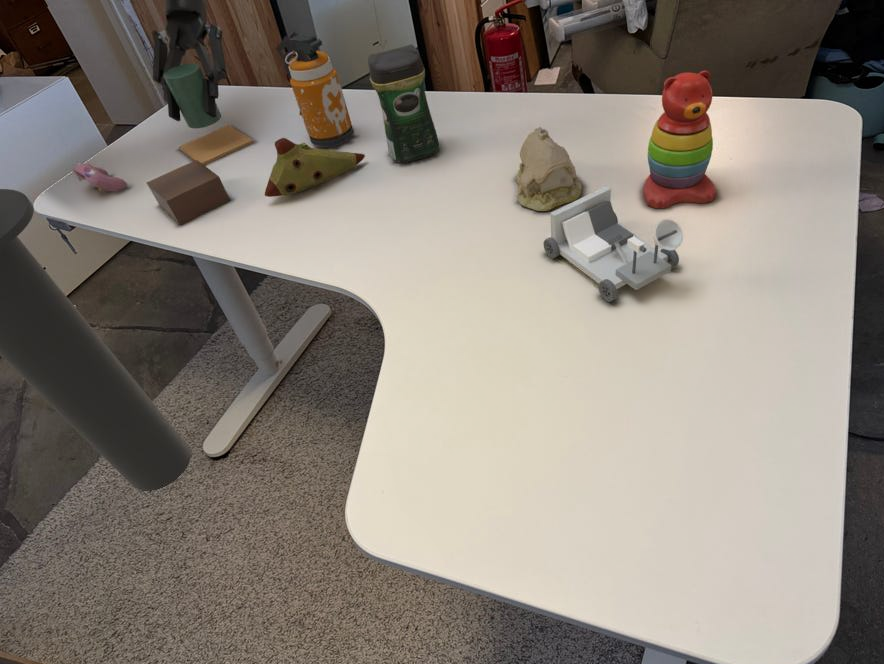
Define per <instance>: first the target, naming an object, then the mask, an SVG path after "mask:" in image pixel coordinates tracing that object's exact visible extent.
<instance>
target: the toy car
mask: <svg viewBox="0 0 884 664" xmlns="http://www.w3.org/2000/svg"><path fill="white" fill-rule="evenodd" d="M611 195H612V189H611V187H609V186H607V185H606V186H603V187H601V188H600V189H597V190H594V191H593V192H591V193H589V194H586V195H585V196H582V197H580V198H577V199H576V200H574V201H571V202H569V203H567V204H566V205H564V206H562V207H559V208H558V209H556V210H554V211H552V212H550V213H549V217H550V218H549V219H550V237H547V238H545V239H544V240H543V249H544V251H545V254H546V255H547V256H548V257H549V258H550V259H556V258H558V257H559V256H562V257H563V258H564V259H565V260H567V261H568V262H569V263H571V264H572V265H573V266H574V267H576V268H578V269H579V270H580V271H581V272H582V273H584V274H585V275H586V276H588V277H589V278H590V279H592V280H593V281H594V282H596V283H597V284H598V291H599V294H600V296H601V298H602V299H604V300H605V301H606V302H608V303H611V302H613V301H615V300H616V299H618V289H621V288H622V287H623V286H626V285H628V286H629V287H630V288H632V289H634V290H635V291H638V290H639V289H641V288H643V287H645V286H647V285H648V284H650V283H652V282H654V281H656V280H658V279H659V278H661V277H663V276H665V275H666V274H668V273H670V272H671V271H672V269H674V268H675V267H677V266H678V265H679V263H680V256H679V254H678V252H677V249H678V248H679V247H680V246H681V245H682V243H683V241H684V233H683V230H682V228H681V226H680V224H679V223H678V222H677V221H675V220H674V219H671V218H664V219H661V220H660V221H659V222H658V223H657V224H656V226H655V228H654V231H653V233H652V234H653V235H652V240H653V243H654V246H653V245H652V244H650V243H649V242H647V241H645V240H644V239H642V238H641V237H640V236H638V235H636V234H635V233H633V232H632V231H630V230H628V229H627V228H625V227H624V226H622V225H620V224H619V219H618V216H617V214H616V212H615V211H614V208H613V204H612V201H611V199H612V197H611ZM659 248H661V249H660V250H659Z"/></svg>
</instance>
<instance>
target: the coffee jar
mask: <svg viewBox="0 0 884 664" xmlns="http://www.w3.org/2000/svg"><path fill="white" fill-rule="evenodd" d="M367 61H368V62H367V63H368V70H369V80H370V83H371V85H372V87H373V89H374V90H375V92H376V95H377V97H378V101H379V105H380V109H381V113H382V119H383V124H384V132H385V133H384V134H385V139H386V144H387V150H388V153H389V156H390V158H391V159H392V160H394V161H395V162H397V163H402V164H403V163H410V162H414V161H417V160H420V159H423V158H426V157H430V156H433V155H434V154H436V153H437V151H438V150H439V149H440V142H439V137H438V134H437V133H438V132H437V130H436V127H435V123H434V119H433V117H432V114H431V110H430V107H429V103H428V100H427V95H426V89H425V79H426V70H425V67H424V64H423V61H422V58H421V54H420V52H419V50H418V48H416V47H415V45H413V44H408V45H405V46H400V47H397V48H392V49H388V50H385V51H381V52H377V53H372V54H370V55H368V57H367Z"/></svg>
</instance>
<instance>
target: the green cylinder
mask: <svg viewBox="0 0 884 664" xmlns="http://www.w3.org/2000/svg"><path fill="white" fill-rule="evenodd" d="M163 77H164V79H165V81H166V83H167V85H168V87H169V89H170V91H171V93H172V95H173V97H174V99H175V101H176V103H177V105H178V107H179V109H180V114H181V115H182V117H183V119H184V121H185V123H186V126H187V127H188V128H190V129H196V130H197V129H203V128H208V127H210V126H212V125H215V124H216V123H218V122H219V121H220V120H221V118H222V113H221V111H220V109H219V106H218V104H217V102H216V101H215V103H216V117H211V116H210V115H208V114H207V113H205V103H204V88H203V79H206V76H205V74H204V73H203V71H202V69H201V67H200V65H199V64H198V63H184V64H180V66H177V67H174V68H172V69H170V70H168V71H167V72H165V73H164V75H163Z"/></svg>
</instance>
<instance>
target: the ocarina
mask: <svg viewBox="0 0 884 664" xmlns="http://www.w3.org/2000/svg"><path fill="white" fill-rule="evenodd" d="M274 147H275V150H276V155H277V156H276V161H275V163H274V164H273V166H272V169H271V172H270V174H269V178H268V181H267V184H266V187H265V191H264V196H265V197H269V198H274V197H275V198H276V197H282V196H288V195H293V194H296V193H300V192H302V191H305V190H308V189H311V188H313V187H317V186H318V185H320V184H322V183H325V182H327V181H329V180H331V179H334V178H336V177H338V176H340V175H342V174H344V173H345V172H347V171H349V170H351V169H353V168H354V167H356V166H357V165H358V164H360V163H361V162H362V161H363V160H364V159H365V157H366V155H365V154H364V153H359V152H350V151H342V150H341V151H340V150H333V149H324V148H316V147H311V146H310V145H309V144H307V143H306V142H301V143H295V142H293V141H291V140H290V139H288V138H286V137H281V138H279V139H277V140H276V141H275V142H274Z"/></svg>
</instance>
